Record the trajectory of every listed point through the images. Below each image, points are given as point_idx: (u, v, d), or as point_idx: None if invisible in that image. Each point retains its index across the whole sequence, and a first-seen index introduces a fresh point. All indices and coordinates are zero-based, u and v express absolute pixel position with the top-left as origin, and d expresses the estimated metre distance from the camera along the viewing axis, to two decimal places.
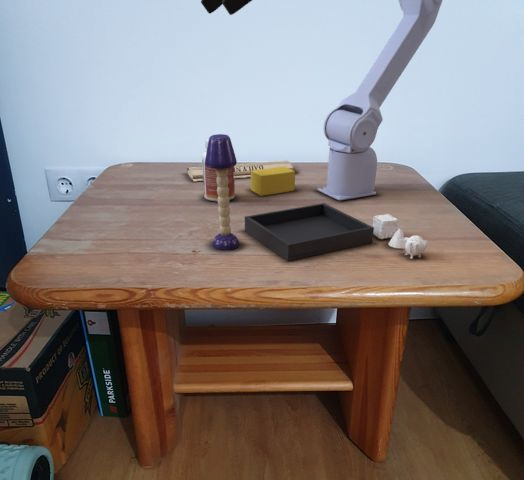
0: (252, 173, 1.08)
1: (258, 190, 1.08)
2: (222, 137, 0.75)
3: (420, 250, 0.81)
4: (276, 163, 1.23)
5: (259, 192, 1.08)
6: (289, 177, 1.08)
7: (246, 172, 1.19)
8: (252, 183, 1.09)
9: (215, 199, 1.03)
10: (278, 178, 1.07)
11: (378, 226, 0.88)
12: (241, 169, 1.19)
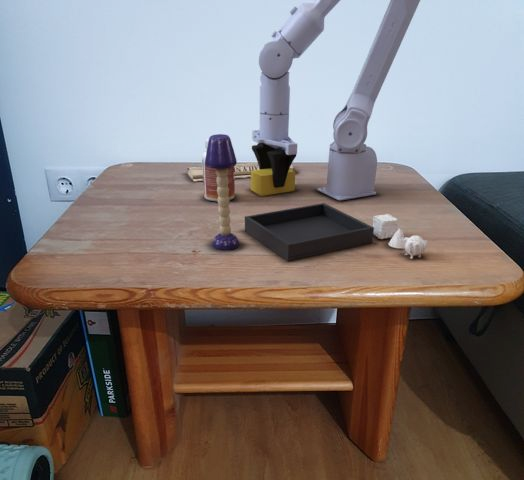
0: (252, 173, 1.08)
1: (258, 190, 1.08)
2: (222, 137, 0.75)
3: (420, 250, 0.81)
4: None
5: (259, 192, 1.08)
6: (289, 177, 1.08)
7: (246, 172, 1.19)
8: (252, 183, 1.09)
9: (215, 199, 1.03)
10: None
11: (378, 226, 0.88)
12: (241, 169, 1.19)
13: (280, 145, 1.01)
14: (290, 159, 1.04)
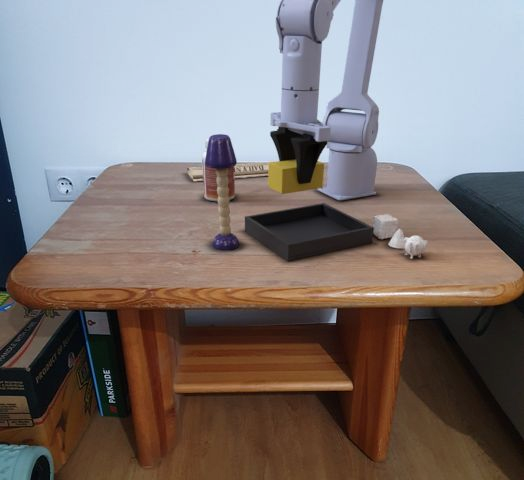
0: (270, 166, 0.86)
1: (278, 187, 0.86)
2: (222, 137, 0.75)
3: (420, 250, 0.81)
4: None
5: (279, 189, 0.86)
6: (316, 171, 0.87)
7: (246, 172, 1.19)
8: (270, 178, 0.87)
9: (215, 199, 1.03)
10: None
11: (378, 226, 0.88)
12: (241, 169, 1.19)
13: (308, 129, 0.79)
14: (320, 148, 0.83)
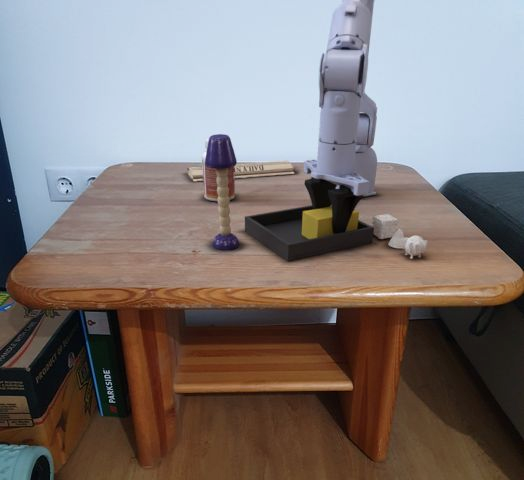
0: (305, 215, 0.85)
1: (313, 236, 0.85)
2: (222, 137, 0.75)
3: (420, 250, 0.81)
4: (276, 163, 1.23)
5: None
6: (351, 219, 0.86)
7: (246, 172, 1.19)
8: (304, 227, 0.86)
9: (215, 199, 1.03)
10: None
11: (378, 226, 0.88)
12: (241, 169, 1.19)
13: (346, 183, 0.78)
14: (356, 199, 0.82)
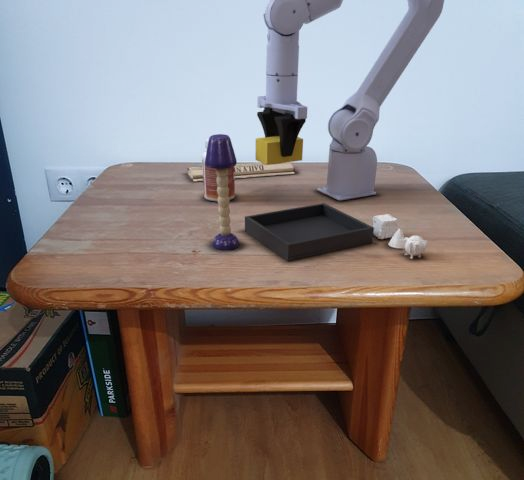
0: (257, 141, 1.01)
1: (264, 159, 1.00)
2: (222, 137, 0.75)
3: (420, 250, 0.81)
4: None
5: (265, 161, 1.00)
6: (297, 145, 1.01)
7: (246, 172, 1.19)
8: (257, 152, 1.02)
9: (215, 199, 1.03)
10: None
11: (378, 227, 0.88)
12: (241, 169, 1.19)
13: (289, 109, 0.94)
14: (299, 125, 0.97)
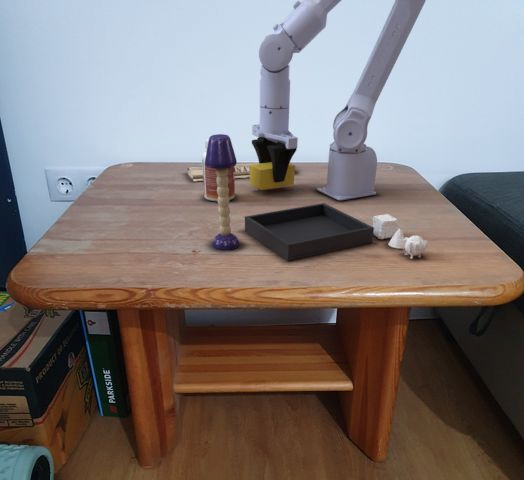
0: (251, 167, 1.07)
1: (257, 184, 1.07)
2: (222, 137, 0.75)
3: (420, 250, 0.81)
4: None
5: (258, 186, 1.07)
6: (288, 171, 1.08)
7: (246, 172, 1.19)
8: (251, 177, 1.08)
9: (215, 199, 1.03)
10: None
11: (378, 227, 0.88)
12: (241, 169, 1.19)
13: (280, 139, 1.00)
14: (290, 153, 1.04)
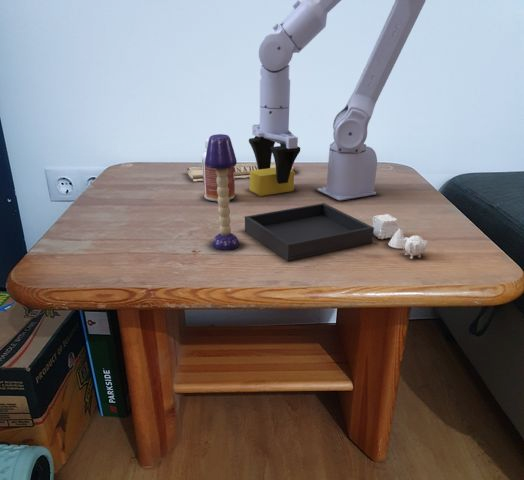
0: (251, 173, 1.08)
1: (257, 190, 1.08)
2: (222, 137, 0.75)
3: (420, 250, 0.81)
4: None
5: (258, 192, 1.07)
6: None
7: (246, 172, 1.19)
8: (251, 183, 1.09)
9: (215, 199, 1.03)
10: None
11: (378, 226, 0.88)
12: (241, 169, 1.19)
13: (280, 139, 1.00)
14: (294, 154, 1.03)
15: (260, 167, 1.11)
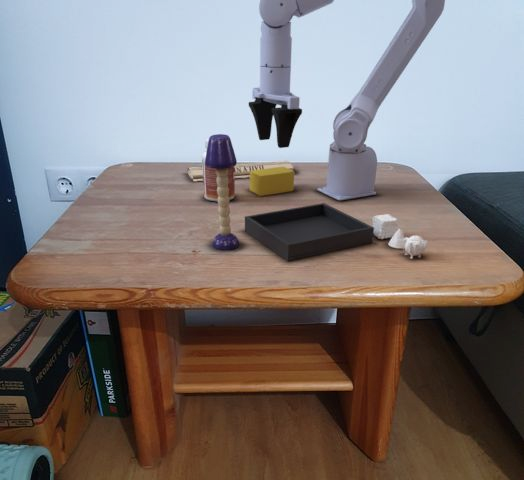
0: (251, 173, 1.08)
1: (257, 190, 1.08)
2: (222, 137, 0.75)
3: (420, 250, 0.81)
4: (276, 163, 1.22)
5: (258, 192, 1.07)
6: (288, 177, 1.08)
7: (246, 172, 1.19)
8: (251, 183, 1.09)
9: (215, 199, 1.03)
10: (277, 178, 1.07)
11: (378, 226, 0.88)
12: (241, 169, 1.19)
13: (281, 99, 0.97)
14: (295, 116, 0.99)
15: (260, 132, 1.07)
